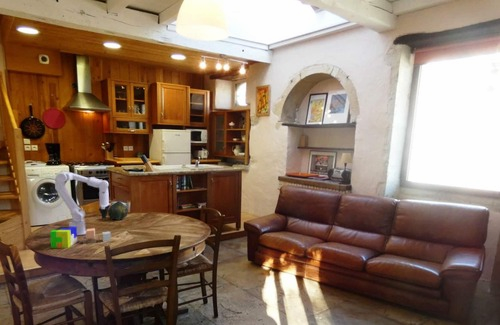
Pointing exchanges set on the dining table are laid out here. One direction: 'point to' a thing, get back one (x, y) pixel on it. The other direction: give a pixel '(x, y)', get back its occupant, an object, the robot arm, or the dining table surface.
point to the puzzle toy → (63, 237)
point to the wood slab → (90, 240)
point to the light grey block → (106, 236)
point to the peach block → (90, 233)
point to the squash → (118, 211)
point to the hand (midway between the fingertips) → (104, 216)
